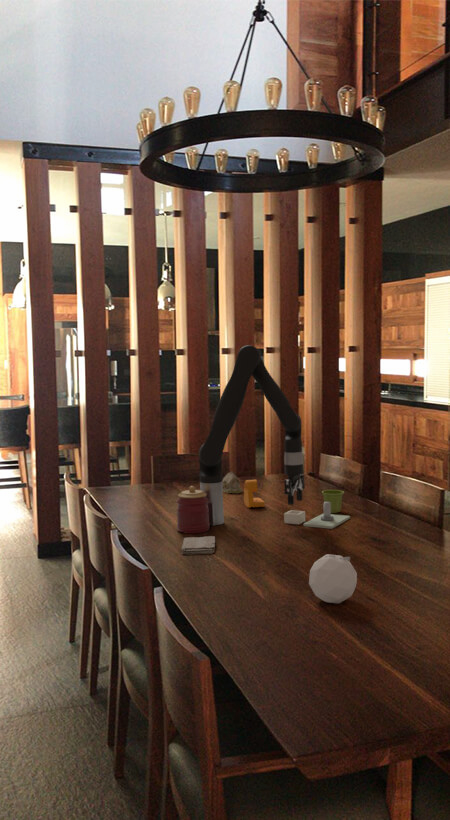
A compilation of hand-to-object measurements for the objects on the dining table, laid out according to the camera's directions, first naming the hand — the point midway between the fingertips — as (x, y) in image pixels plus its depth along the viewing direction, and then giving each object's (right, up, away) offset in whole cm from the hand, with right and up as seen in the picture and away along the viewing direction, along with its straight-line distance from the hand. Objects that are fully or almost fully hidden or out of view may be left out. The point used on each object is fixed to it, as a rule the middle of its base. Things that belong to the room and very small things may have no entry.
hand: (295, 502), depth 310 cm
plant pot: (+18, -6, +18) cm, 26 cm away
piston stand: (+13, -8, -1) cm, 15 cm away
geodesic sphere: (+2, -16, -97) cm, 98 cm away
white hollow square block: (0, -8, 0) cm, 8 cm away
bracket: (-15, -6, +34) cm, 38 cm away
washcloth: (-38, -13, -35) cm, 53 cm away
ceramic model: (-25, -3, +72) cm, 76 cm away
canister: (-41, -10, -8) cm, 43 cm away
